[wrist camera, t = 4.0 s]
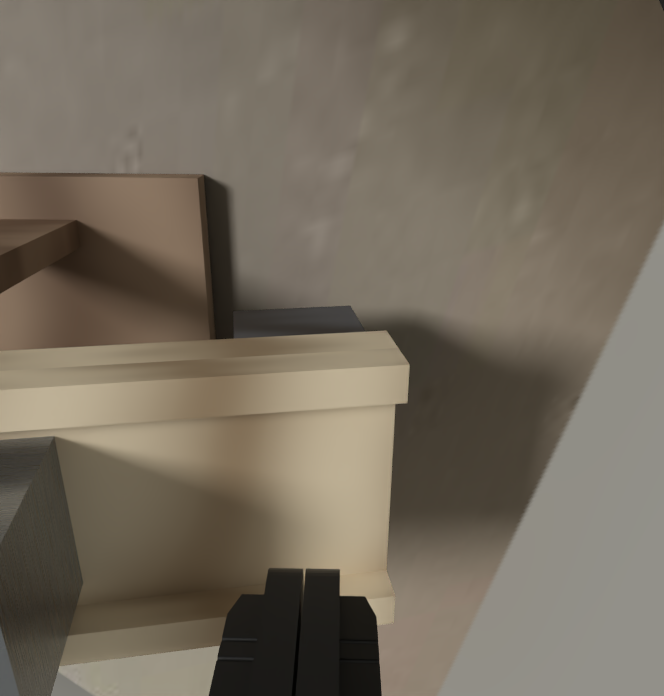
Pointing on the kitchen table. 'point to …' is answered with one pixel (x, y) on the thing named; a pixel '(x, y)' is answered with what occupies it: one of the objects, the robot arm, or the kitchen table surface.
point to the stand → (103, 260)
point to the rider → (34, 566)
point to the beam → (215, 469)
